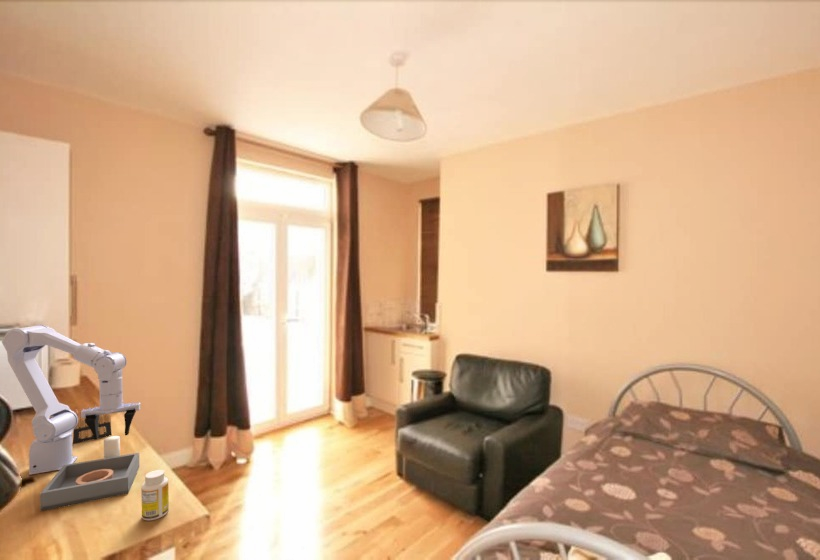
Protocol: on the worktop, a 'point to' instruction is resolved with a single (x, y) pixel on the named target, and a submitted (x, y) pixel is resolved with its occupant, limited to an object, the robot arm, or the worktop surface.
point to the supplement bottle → (155, 495)
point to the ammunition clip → (84, 431)
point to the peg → (112, 446)
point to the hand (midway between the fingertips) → (112, 436)
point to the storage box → (90, 481)
